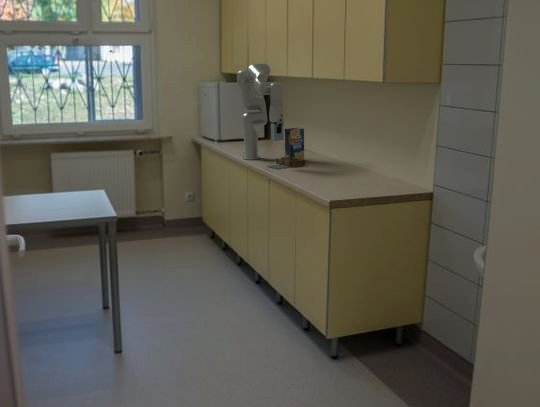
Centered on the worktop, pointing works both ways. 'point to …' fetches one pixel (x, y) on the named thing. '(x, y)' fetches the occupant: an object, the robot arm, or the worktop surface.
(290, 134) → the blue printed long box
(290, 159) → the oak offcut upper
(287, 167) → the mat
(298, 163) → the rack
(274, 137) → the tall pale blue pillar
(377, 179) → the worktop surface
